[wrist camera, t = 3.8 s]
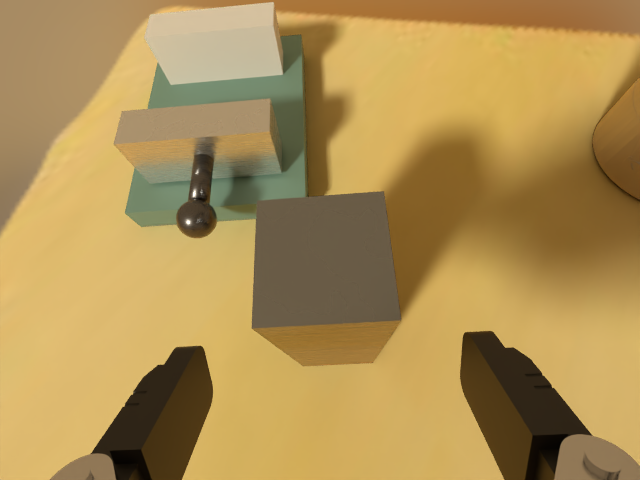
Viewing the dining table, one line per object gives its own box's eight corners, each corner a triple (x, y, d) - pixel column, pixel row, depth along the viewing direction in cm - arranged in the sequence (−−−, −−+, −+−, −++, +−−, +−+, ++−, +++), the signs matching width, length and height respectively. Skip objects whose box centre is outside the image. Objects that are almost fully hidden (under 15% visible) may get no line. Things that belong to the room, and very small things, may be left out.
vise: (308, 214, 24) (297, 162, 19) (141, 226, 25) (83, 178, 20) (303, 55, 31) (294, -18, 26) (171, 68, 32) (134, -1, 26)
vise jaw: (281, 245, 21) (267, 213, 17) (135, 255, 22) (92, 225, 18) (281, 143, 24) (270, 98, 21) (155, 153, 25) (122, 111, 21)
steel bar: (302, 298, 22) (257, 200, 11) (366, 295, 22) (383, 191, 11) (303, 366, 20) (251, 328, 9) (372, 362, 20) (401, 320, 9)
